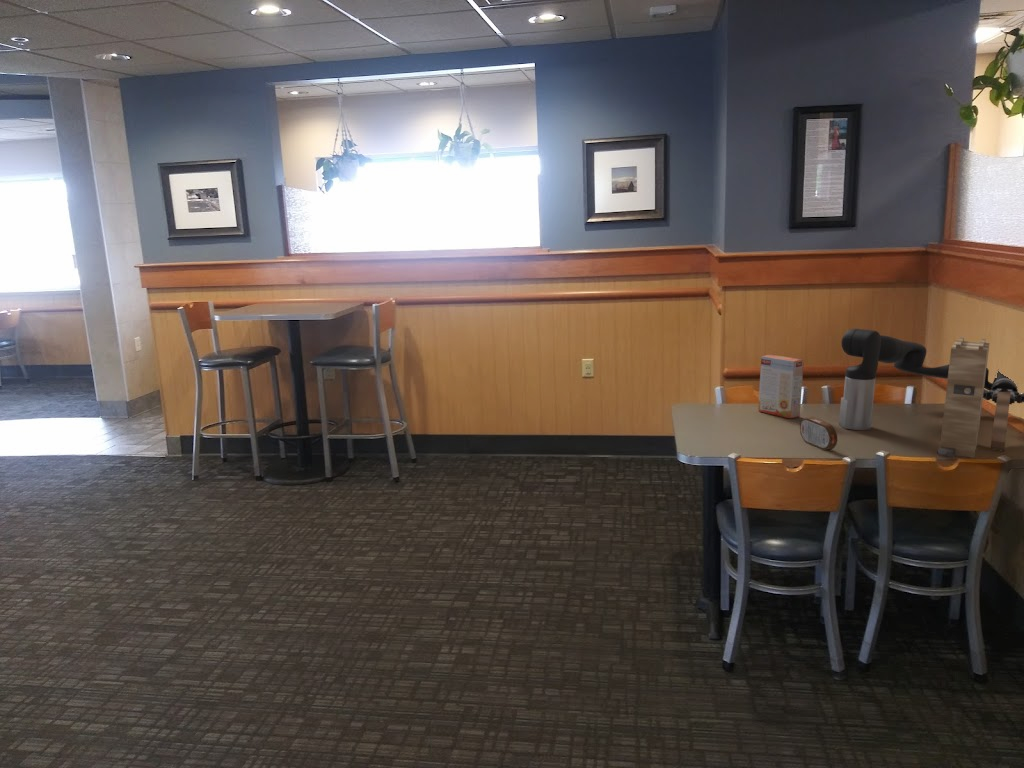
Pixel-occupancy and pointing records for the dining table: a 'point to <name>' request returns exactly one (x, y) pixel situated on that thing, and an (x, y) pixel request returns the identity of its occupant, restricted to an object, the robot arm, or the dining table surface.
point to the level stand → (964, 398)
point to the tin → (818, 433)
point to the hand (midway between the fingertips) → (1003, 400)
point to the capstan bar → (1000, 421)
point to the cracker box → (780, 386)
